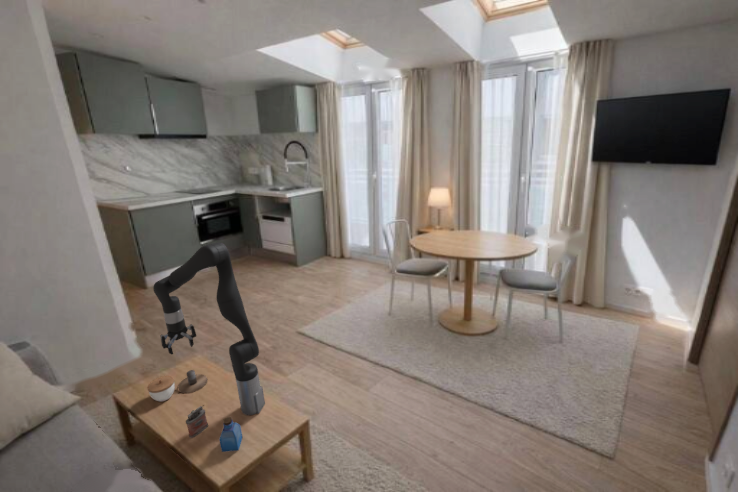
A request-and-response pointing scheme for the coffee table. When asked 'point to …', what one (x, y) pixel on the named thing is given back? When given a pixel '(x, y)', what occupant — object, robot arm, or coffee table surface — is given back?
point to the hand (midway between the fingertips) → (181, 349)
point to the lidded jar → (161, 388)
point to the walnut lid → (192, 382)
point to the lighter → (196, 422)
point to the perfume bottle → (230, 435)
